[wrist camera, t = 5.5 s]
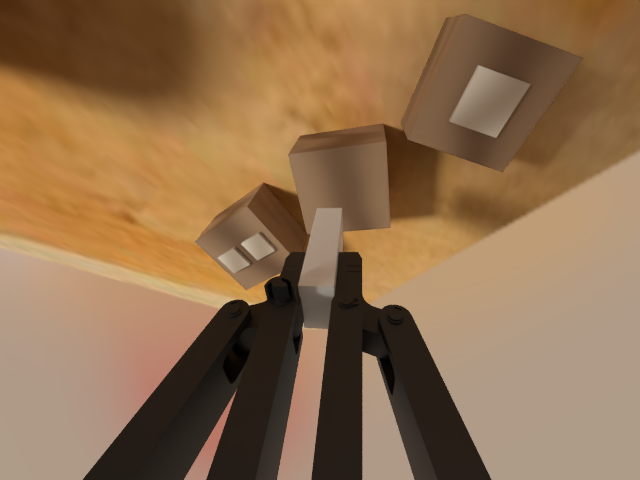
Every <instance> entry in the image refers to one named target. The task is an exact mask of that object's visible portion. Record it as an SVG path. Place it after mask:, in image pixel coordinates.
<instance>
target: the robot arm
mask: <svg viewBox="0 0 640 480" xmlns="http://www.w3.org/2000/svg"><path fill="white" fill-rule="evenodd" d="M264 287H265V292H266V296H267V301H265V302H262V303H259V304H255V305H250V306H249V305H248V304H247V302H245V301H243V300H233V301H230V302H228V303H226V304H225V305H224V306H223V307H222V308H221V309H220V310H219V311H218V312H217V314H216V315H215V316H214V317H213V319H212V320H211V321H210V322H209V324H208V325H207V326H206V327H205V329H204V330H203V331H202V332H201V333H200V335H199V336H198V337H197V338H196V340H195V341H194V342H193V343H192V345H191V346H190V347H189V348H188V350H187V351H186V352H185V353H184V355H183V356H182V357H181V358H180V360H179V361H178V362H177V363H176V365H175V366H174V367H173V368H172V369H171V371H170V372H169V373H168V374H167V376H166V377H165V378H164V380H163V381H162V382H161V383H160V385H159V386H158V387H157V388H156V390H155V391H154V392H153V393H152V394H151V396H150V397H149V398H148V399H147V401H146V402H145V403H144V404H143V406H142V407H141V408H140V409H139V410H138V412H137V413H136V414H135V415H134V417H133V418H132V419H131V420H130V422H129V423H128V424H127V425H126V427H125V428H124V429H123V430H122V432H121V433H120V434H119V436H118V437H117V438H116V439H115V440H114V442H113V443H112V444H111V445H110V446H109V448H108V449H107V450H106V451H105V453H104V454H103V455H102V456H101V458H100V459H99V460H98V461H97V463H96V464H95V465H94V466H93V468H92V469H91V470H90V471H89V473H88V474H87V475H86V476H85V477H84V479H83V480H184V478H185V476H186V475H187V473H188V471H189V470H190V468H191V466H192V464H193V463H194V461H195V459H196V458H197V456H198V454H199V452H200V451H201V449H202V447H203V446H204V444H205V442H206V441H207V439H208V437H209V436H210V434H211V432H212V430H213V429H214V427H215V425H216V424H217V422H218V420H219V418H220V417H221V415H222V413H223V412H224V410H225V408H226V407H227V405H228V403H229V401H230V400H231V398H232V396H233V395H234V393H235V391H236V390H237V391H236V394H235V397H234V400H233V403H232V406H231V409H230V412H229V414H228V417H227V420H226V424H225V426H224V429H223V433H222V435H221V438H220V441H219V444H218V447H217V450H216V453H215V456H214V459H213V462H212V465H211V468H210V470H209V474H208V476H207V479H206V480H277V475H278V470H279V465H280V459H281V453H282V448H283V443H284V437H285V432H286V427H287V421H288V416H289V410H290V405H291V399H292V394H293V389H294V383H295V378H296V372H297V367H298V361H299V356H300V350H301V345H302V339H303V333H302V327H303V322H304V327H305V328H323V329H328V337H327V346H326V355H325V364H324V372H323V381H322V391H321V399H320V408H319V417H318V427H317V435H316V444H315V453H314V462H313V470H312V480H362V352H365V353H368V354H370V355H373V356H376V357H377V361H378V364H379V367H380V370H381V374H382V377H383V380H384V383H385V386H386V390H387V393H388V396H389V399H390V402H391V405H392V409H393V412H394V415H395V418H396V422H397V425H398V428H399V431H400V434H401V437H402V441H403V444H404V447H405V450H406V454H407V457H408V460H409V463H410V466H411V470H412V473H413V476H414V479H415V480H491V478H490V476H489V474H488V472H487V470H486V468H485V466H484V464H483V462H482V459H481V457H480V455H479V453H478V451H477V449H476V447H475V445H474V443H473V441H472V439H471V437H470V435H469V433H468V431H467V428H466V426H465V424H464V422H463V420H462V418H461V416H460V414H459V412H458V410H457V408H456V406H455V404H454V402H453V400H452V398H451V396H450V393H449V391H448V390H447V387H446V385H445V383H444V381H443V379H442V377H441V375H440V373H439V371H438V369H437V367H436V365H435V363H434V360H433V358H432V356H431V354H430V352H429V350H428V348H427V346H426V344H425V342H424V340H423V338H422V336H421V334H420V332H419V330H418V327H417V325H416V323H415V321H414V320H413V317H412V315H411V314H410V312H409V311H408V310H407V309H405V308H404V307H402V306H399V305H388V306H385V307H384V308H383V309H379V308H376V307H373V306H371V305H370V304H368V303H367V302H366V301H365V300H364V298H363V296H362V258H361V256H360V255H359V253H358V252H343V224H342V208H317V210H316V214H315V218H314V222H313V226H312V230H311V234H310V239H309V243H308V247H307V251H306V252H291V253H290V254H289V255H288V256H287V257H286V259H285V262H284V266H283V269H282V272H281V275H280V276H278V277H274V278H272V279H270V280H269V281H268V282H267V283H266V284H265V286H264Z"/></svg>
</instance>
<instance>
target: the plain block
mask: <svg viewBox="0 0 640 480" xmlns="http://www.w3.org/2000/svg"><path fill="white" fill-rule="evenodd" d="M288 156H289V160H290V164H291V168H292V173H293V177H294V181H295V185H296V190H297V194H298V198H299V202H300V207H301V211H302V215H303V219H304V224H305V228H306V232H307V234H311V230H312V226H313V222H314V218H315V214H316V210H317V208H342V224H343V231H356V230H370V229H383V228H391V226H390V206H389V186H388V166H387V146H386V137H385V131H384V126H383V124H378V125H371V126H364V127H357V128H351V129H344V130H337V131H330V132H323V133H316V134H310V135H303V136H300V137H299V139H298V140H297V142H296V143H295V145H294V146H293V148H292V149H291V151H290V153H289V154H288Z"/></svg>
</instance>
